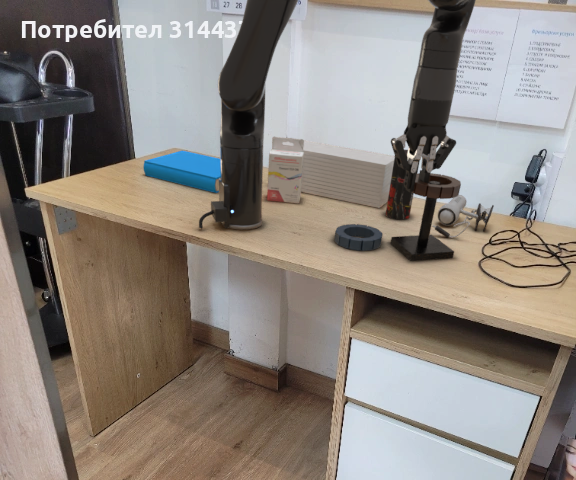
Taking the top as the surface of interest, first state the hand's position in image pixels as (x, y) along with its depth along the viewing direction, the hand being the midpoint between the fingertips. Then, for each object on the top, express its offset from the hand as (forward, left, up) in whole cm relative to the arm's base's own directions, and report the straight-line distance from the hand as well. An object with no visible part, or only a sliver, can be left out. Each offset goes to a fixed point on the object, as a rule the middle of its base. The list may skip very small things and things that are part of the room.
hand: (414, 190), depth 112 cm
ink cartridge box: (-16, +38, -13) cm, 43 cm away
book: (-35, +60, -13) cm, 71 cm away
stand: (+4, 0, -13) cm, 14 cm away
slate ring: (-8, +7, -13) cm, 17 cm away
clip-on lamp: (+20, +11, -13) cm, 27 cm away
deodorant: (+9, +22, -13) cm, 27 cm away
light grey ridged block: (-1, +43, -13) cm, 45 cm away
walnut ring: (+4, 0, 0) cm, 4 cm away
